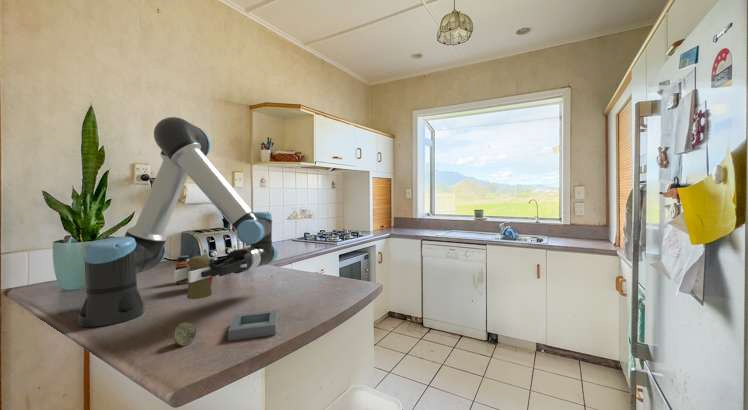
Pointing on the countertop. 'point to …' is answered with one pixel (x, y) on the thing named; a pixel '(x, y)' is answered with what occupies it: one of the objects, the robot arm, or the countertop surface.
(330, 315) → the countertop surface
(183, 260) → the supplement bottle
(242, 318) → the block
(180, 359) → the countertop surface
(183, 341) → the grey-green short cylinder
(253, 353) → the countertop surface
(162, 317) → the countertop surface
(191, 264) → the cork
